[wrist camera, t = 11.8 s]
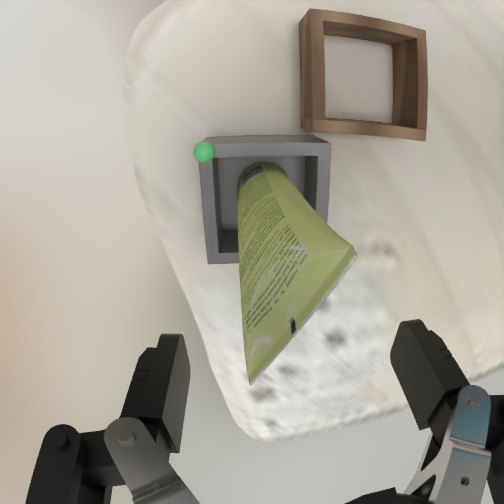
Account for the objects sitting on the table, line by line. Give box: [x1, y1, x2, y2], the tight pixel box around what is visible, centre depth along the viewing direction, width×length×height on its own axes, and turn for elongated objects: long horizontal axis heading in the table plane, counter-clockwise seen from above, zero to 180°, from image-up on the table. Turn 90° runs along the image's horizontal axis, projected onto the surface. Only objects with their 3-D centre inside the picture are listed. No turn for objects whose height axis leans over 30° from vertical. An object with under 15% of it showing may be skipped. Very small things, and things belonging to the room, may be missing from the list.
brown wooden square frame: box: [299, 9, 428, 141], centre depth 22 cm, size 10×10×5 cm
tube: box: [237, 162, 357, 385], centre depth 20 cm, size 6×5×20 cm
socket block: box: [194, 135, 331, 264], centre depth 26 cm, size 10×10×7 cm
